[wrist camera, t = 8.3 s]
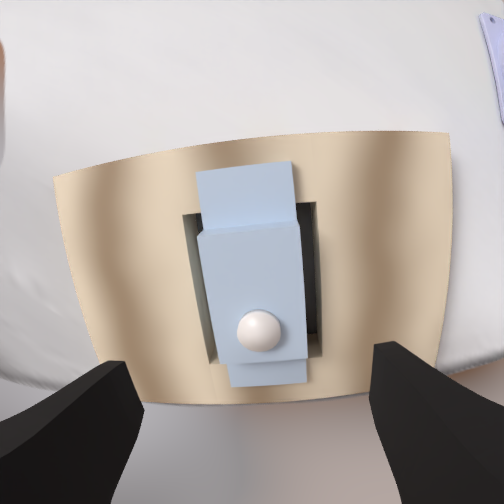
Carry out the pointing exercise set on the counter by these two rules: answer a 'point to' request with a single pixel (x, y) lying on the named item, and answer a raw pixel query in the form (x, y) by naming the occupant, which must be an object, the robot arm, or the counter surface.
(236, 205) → the block
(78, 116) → the counter surface
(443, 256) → the board
